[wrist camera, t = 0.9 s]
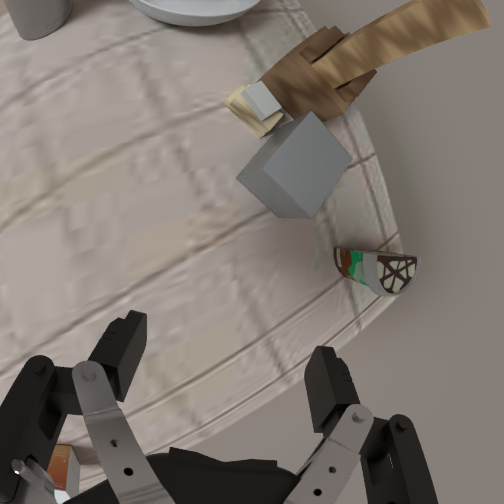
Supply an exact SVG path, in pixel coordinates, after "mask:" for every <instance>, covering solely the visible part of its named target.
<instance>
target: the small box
mask: <svg viewBox="0 0 504 504" xmlns="http://www.w3.org/2000/svg"><path fill="white" fill-rule="evenodd" d="M47 473H48V474H49V475H50V477H51V478H52V480H53V482H54V485H55V492H54V494H55V499H56V501H57V503H58V504H62V503H63V502H65V501H67V500H69V499H71V498H73V497H75V496H77V495H79V479H80V464H79V462H78V460H77V458H76V456H75V453H74V451H73V449H72V447H71V446H66V445H57V444H56V445H55V448H54V451H53V454H52V457H51V460H50V463H49V466H48V469H47Z"/></svg>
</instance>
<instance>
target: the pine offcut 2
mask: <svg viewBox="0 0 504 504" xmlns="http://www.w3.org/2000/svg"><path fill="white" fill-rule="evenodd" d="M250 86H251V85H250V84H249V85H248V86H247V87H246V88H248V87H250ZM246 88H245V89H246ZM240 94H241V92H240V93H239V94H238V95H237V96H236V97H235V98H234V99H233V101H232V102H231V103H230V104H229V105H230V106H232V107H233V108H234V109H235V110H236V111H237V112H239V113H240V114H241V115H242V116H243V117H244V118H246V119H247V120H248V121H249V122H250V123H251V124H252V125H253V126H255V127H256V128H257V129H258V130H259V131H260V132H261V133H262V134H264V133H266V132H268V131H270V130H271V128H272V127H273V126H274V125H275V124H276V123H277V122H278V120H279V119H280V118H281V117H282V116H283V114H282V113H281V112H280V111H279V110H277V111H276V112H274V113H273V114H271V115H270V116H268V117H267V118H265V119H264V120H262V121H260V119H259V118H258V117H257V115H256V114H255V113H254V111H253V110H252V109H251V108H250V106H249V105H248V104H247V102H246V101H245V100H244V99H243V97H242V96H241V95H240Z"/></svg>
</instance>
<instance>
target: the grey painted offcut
mask: <svg viewBox="0 0 504 504" xmlns="http://www.w3.org/2000/svg"><path fill="white" fill-rule="evenodd" d="M240 95H241V96H242V97H243V99H244V100H245V101H246V102H247V104H248V105H249V106H250V108H251V109H252V110H253V111H254V113H255V114H256V115H257V117H258V118H259V119H260V121H262V120H264V119H265V118H267V117H268V116H270V115H271V114H273V113H274V112H276V111H277V110H279V109H280V108H282V107H281V106H280V104H279V103H278V102H277V100H276V99H275V98H274V96H273V95H272V94H271V92H270V91H269V90H268V89H267V87H266V86H265V85H264V84H263V82H262V81H259V82H257V83H255V84H253V85H251V86H250V87H248V88H246V89H244V90H243V91H242V92H241V94H240Z"/></svg>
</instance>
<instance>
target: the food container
mask: <svg viewBox="0 0 504 504" xmlns="http://www.w3.org/2000/svg"><path fill="white" fill-rule="evenodd" d="M334 259H335V264H336V266H337V268H338V270H339V272H340V273H341V274H342V275H343V276H344V277H347V278H349V279H352V280H354V281H357V282H359V283H362V284H364V285H366V286H369V287H370V289H371V290H372V291H373V292H374V293H375V294H377V295H379V296H397V295H400V294H402V293H404V292H405V291H407V289H409V288H410V286H411V285H412V284H413V282H414V281H415V278H416V277H417V274H418V271H419V269H420V265H421V260H422V258H421V257H417V256H409V255H403V254H396V253H390V252H383V251H376V250H365V249H351V248H336V247H334Z"/></svg>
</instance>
